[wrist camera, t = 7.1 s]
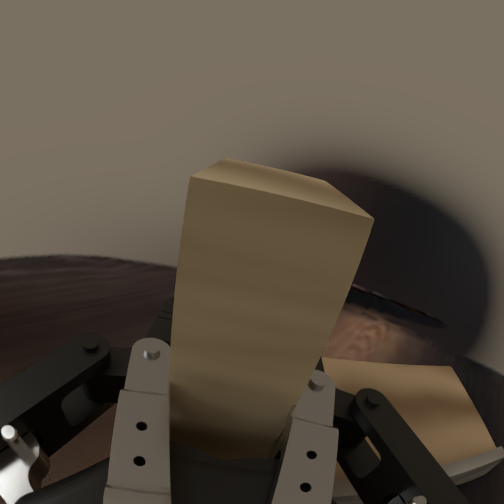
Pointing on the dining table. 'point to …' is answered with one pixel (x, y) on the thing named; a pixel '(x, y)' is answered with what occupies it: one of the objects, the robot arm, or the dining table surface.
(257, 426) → the pale wooden block
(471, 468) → the floorboard
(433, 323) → the dining table surface
